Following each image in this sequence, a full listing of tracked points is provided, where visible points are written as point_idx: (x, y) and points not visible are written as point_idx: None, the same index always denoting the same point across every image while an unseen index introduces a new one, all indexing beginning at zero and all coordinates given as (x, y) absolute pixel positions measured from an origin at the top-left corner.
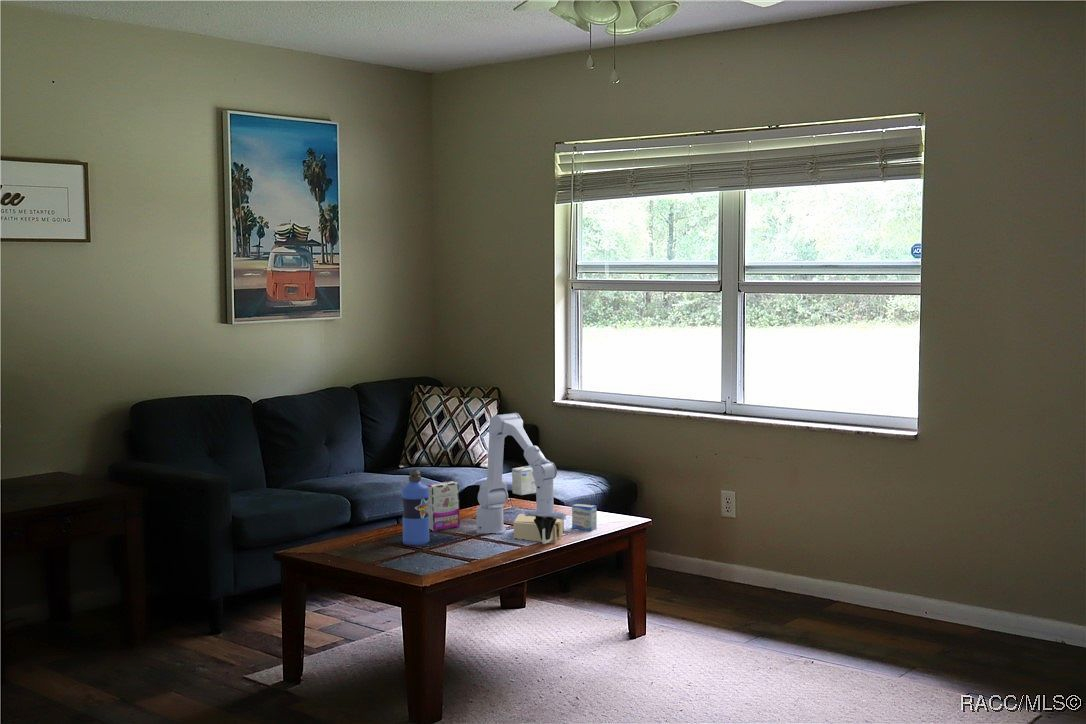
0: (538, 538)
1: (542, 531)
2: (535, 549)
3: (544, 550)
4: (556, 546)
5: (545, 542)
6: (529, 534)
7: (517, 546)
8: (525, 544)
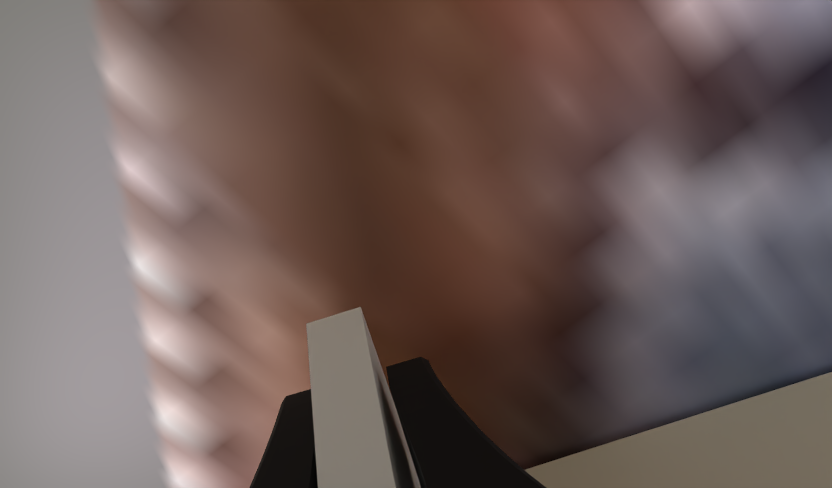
0: (636, 467)
1: (388, 468)
2: (333, 74)
3: (142, 131)
4: (210, 436)
5: (309, 345)
6: (817, 454)
7: (749, 22)
8: (700, 213)
